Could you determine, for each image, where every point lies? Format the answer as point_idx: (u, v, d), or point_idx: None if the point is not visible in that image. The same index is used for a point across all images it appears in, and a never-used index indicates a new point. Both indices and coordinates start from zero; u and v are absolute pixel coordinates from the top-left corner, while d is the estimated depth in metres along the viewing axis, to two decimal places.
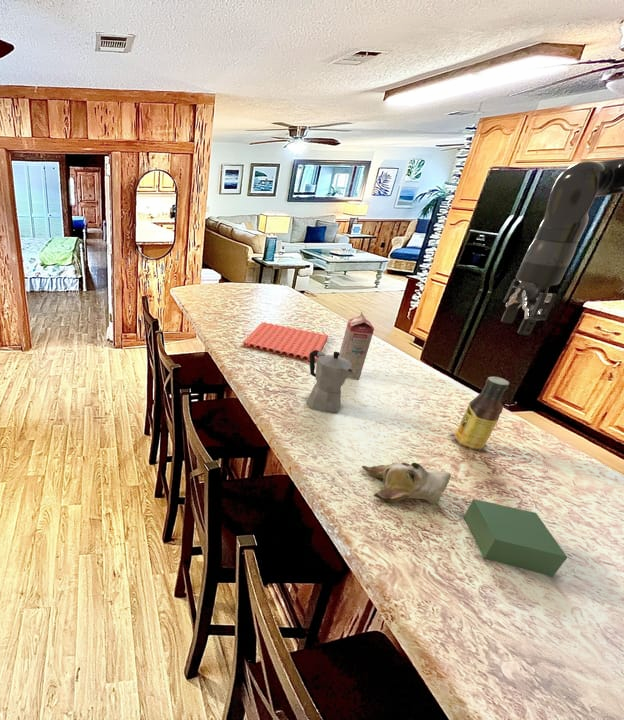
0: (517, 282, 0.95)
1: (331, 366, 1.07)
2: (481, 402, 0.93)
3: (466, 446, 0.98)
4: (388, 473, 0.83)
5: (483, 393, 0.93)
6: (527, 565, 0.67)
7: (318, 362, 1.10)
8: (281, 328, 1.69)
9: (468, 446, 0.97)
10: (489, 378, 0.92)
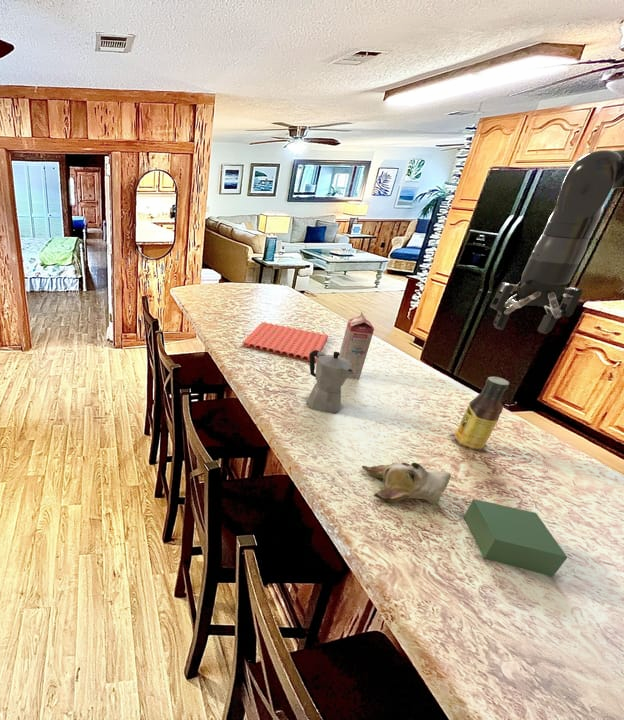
0: None
1: (331, 366, 1.07)
2: (481, 402, 0.93)
3: (466, 446, 0.98)
4: (388, 473, 0.83)
5: (483, 393, 0.93)
6: (527, 565, 0.67)
7: (318, 362, 1.10)
8: (281, 328, 1.68)
9: (468, 446, 0.97)
10: (489, 378, 0.92)
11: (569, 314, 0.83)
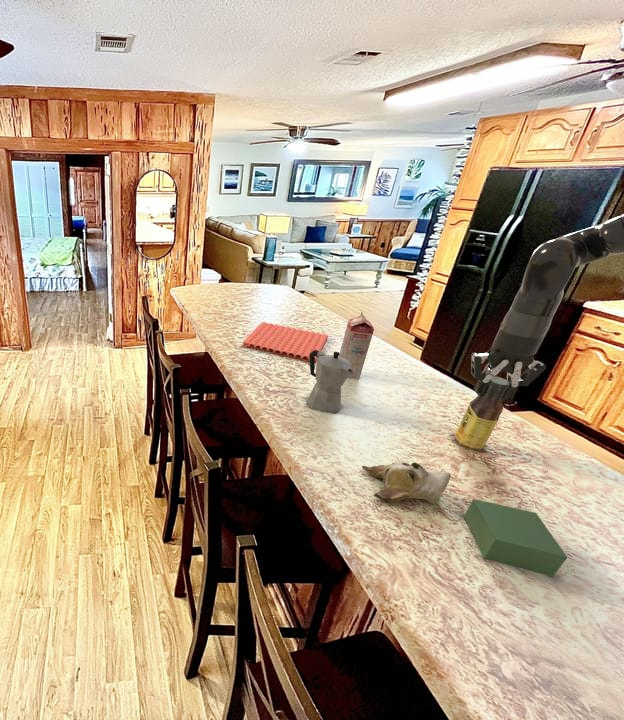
0: None
1: (331, 366, 1.07)
2: (482, 402, 0.93)
3: (466, 446, 0.98)
4: (388, 473, 0.83)
5: None
6: (527, 565, 0.67)
7: (318, 362, 1.10)
8: (281, 328, 1.68)
9: (468, 446, 0.97)
10: None
11: (525, 384, 0.89)
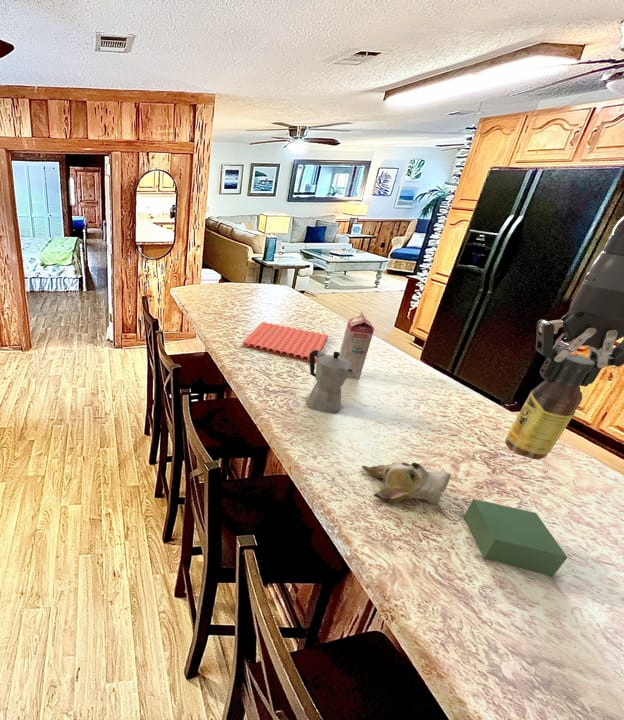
0: None
1: (331, 366, 1.07)
2: (551, 389, 0.67)
3: (525, 451, 0.71)
4: (388, 473, 0.83)
5: None
6: (527, 565, 0.67)
7: (318, 362, 1.10)
8: (281, 328, 1.68)
9: (528, 451, 0.71)
10: None
11: (618, 364, 0.62)
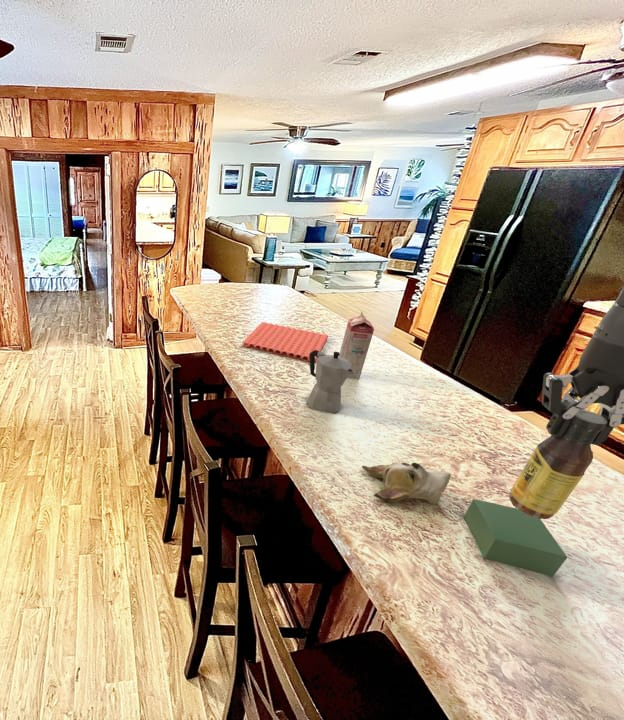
0: None
1: (331, 366, 1.07)
2: (559, 447, 0.61)
3: (531, 510, 0.66)
4: (388, 473, 0.83)
5: None
6: (527, 565, 0.67)
7: (318, 362, 1.10)
8: (281, 328, 1.68)
9: (534, 510, 0.65)
10: None
11: None
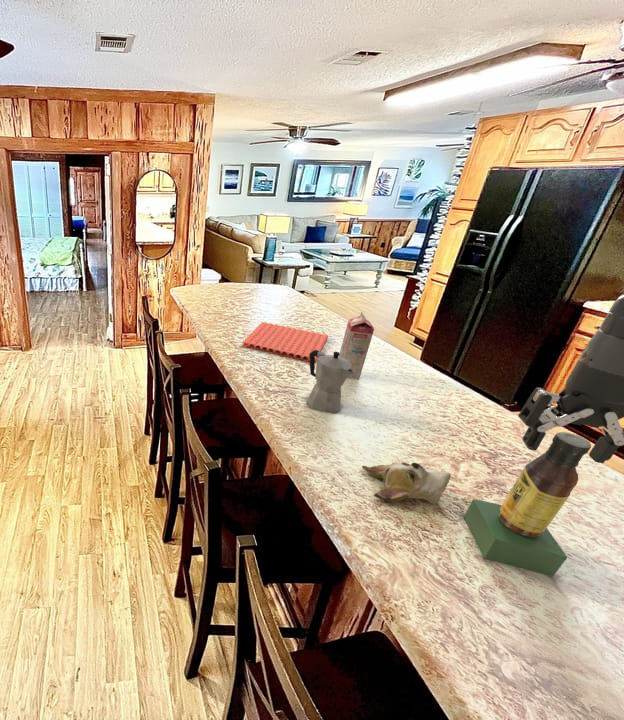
0: None
1: (331, 366, 1.07)
2: (546, 469, 0.63)
3: (519, 528, 0.68)
4: (388, 473, 0.83)
5: (548, 456, 0.63)
6: (527, 565, 0.67)
7: (318, 362, 1.10)
8: (281, 328, 1.68)
9: (522, 529, 0.67)
10: (559, 435, 0.62)
11: None
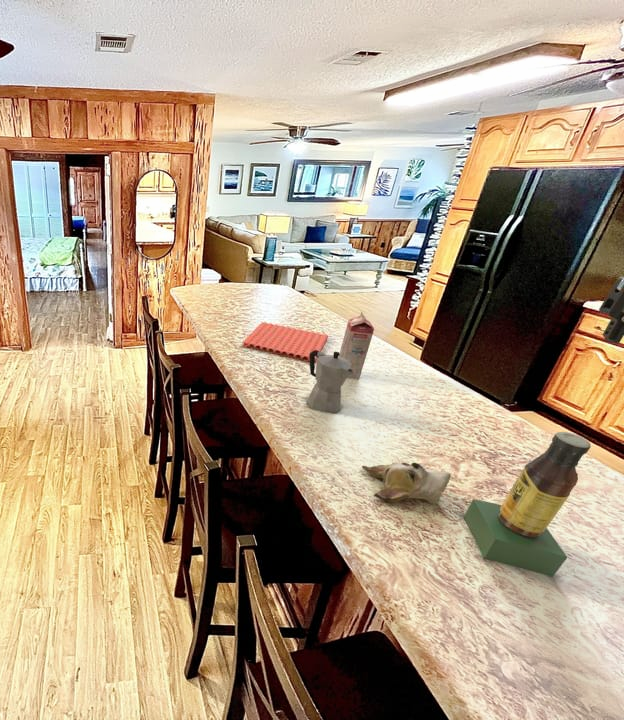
0: None
1: (331, 366, 1.07)
2: (546, 469, 0.63)
3: (519, 528, 0.68)
4: (388, 473, 0.83)
5: (548, 456, 0.63)
6: (527, 565, 0.67)
7: (318, 362, 1.10)
8: (281, 328, 1.68)
9: (522, 529, 0.67)
10: (558, 435, 0.62)
11: None
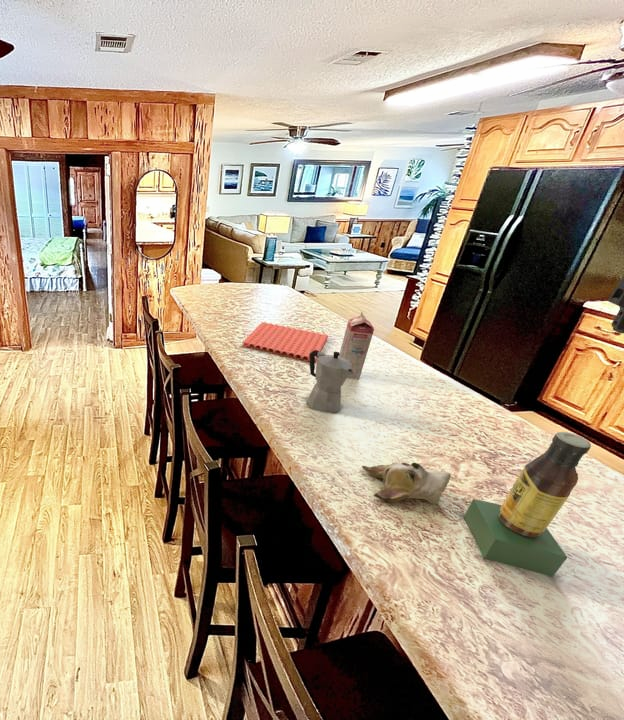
0: None
1: (331, 366, 1.07)
2: (546, 469, 0.63)
3: (519, 528, 0.68)
4: (388, 473, 0.83)
5: (548, 456, 0.63)
6: (527, 565, 0.67)
7: (318, 362, 1.10)
8: (281, 328, 1.68)
9: (522, 529, 0.67)
10: (558, 435, 0.62)
11: None
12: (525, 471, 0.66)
